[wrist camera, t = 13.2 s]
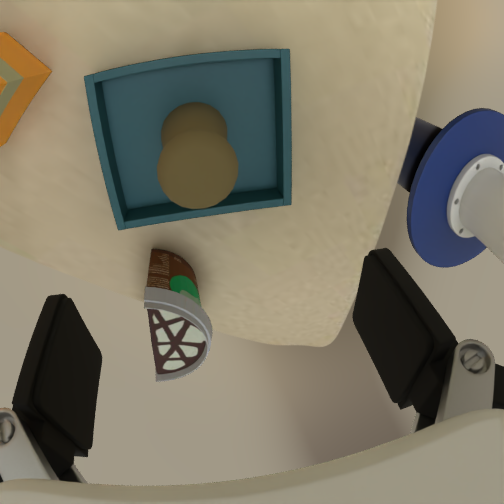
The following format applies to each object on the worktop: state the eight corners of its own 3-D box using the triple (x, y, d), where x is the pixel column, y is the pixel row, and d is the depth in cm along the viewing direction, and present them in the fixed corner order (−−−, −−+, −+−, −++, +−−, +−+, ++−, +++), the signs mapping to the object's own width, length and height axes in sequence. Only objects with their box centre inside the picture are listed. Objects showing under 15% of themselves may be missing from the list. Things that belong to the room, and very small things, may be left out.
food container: (204, 318, 41) (212, 382, 33) (157, 318, 40) (156, 384, 32) (208, 237, 35) (218, 302, 27) (151, 237, 33) (143, 303, 25)
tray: (280, 49, 25) (289, 48, 22) (283, 192, 33) (291, 205, 31) (93, 73, 23) (83, 76, 20) (122, 215, 31) (118, 230, 29)
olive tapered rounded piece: (233, 106, 27) (259, 137, 18) (221, 168, 30) (239, 227, 21) (165, 98, 25) (152, 125, 16) (157, 162, 28) (145, 220, 19)
